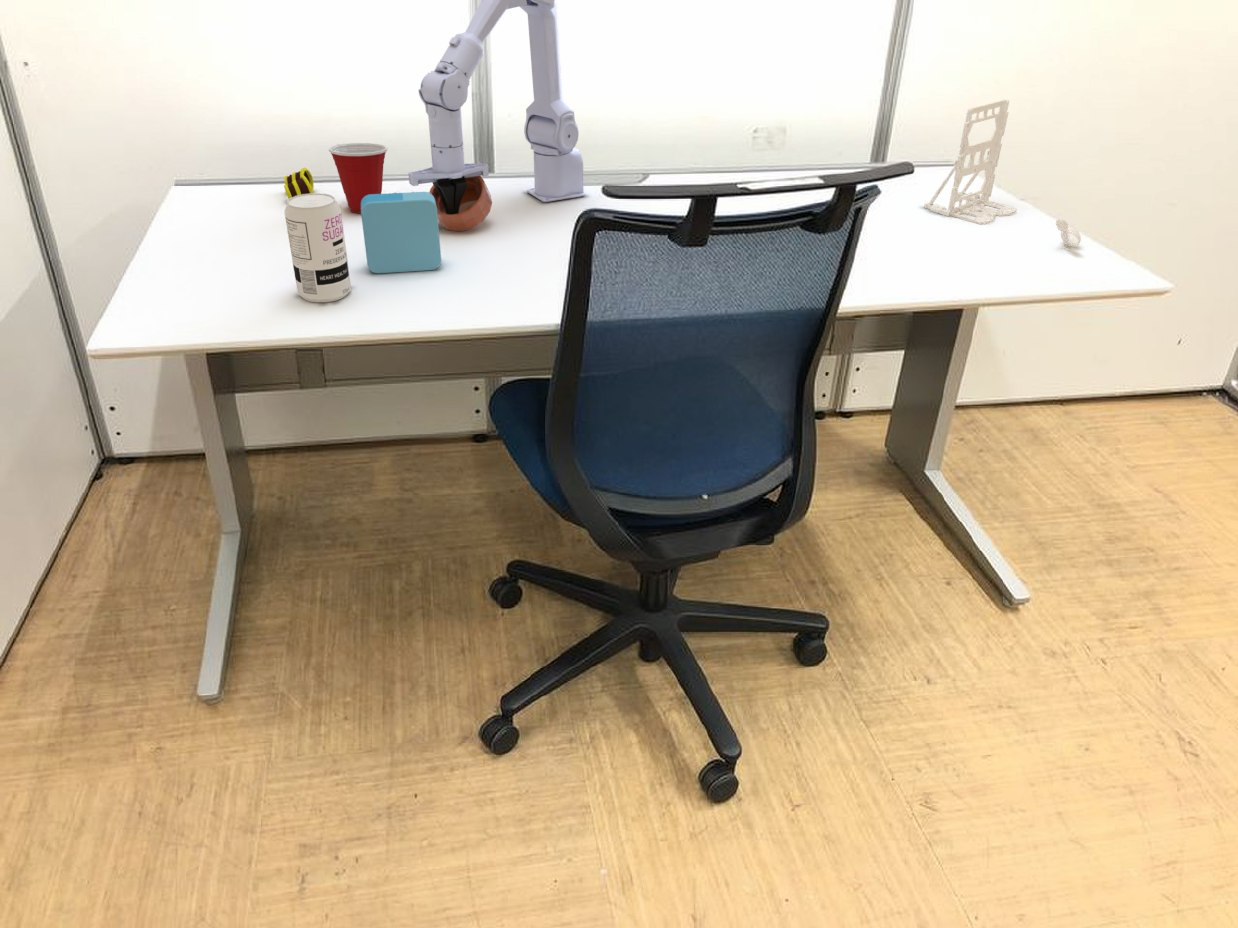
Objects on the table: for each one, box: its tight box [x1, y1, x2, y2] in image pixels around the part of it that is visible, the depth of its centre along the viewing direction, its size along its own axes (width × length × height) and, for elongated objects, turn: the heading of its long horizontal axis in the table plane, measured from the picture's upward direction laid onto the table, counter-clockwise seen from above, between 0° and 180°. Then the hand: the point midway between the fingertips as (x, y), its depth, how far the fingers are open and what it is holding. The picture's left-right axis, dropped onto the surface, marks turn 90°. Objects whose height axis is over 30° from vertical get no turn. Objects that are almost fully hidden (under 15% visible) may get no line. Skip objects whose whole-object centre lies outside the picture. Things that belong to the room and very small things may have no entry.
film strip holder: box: [923, 99, 1018, 225], centre depth 194 cm, size 14×14×20 cm
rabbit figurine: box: [1055, 218, 1082, 251], centre depth 181 cm, size 6×4×8 cm
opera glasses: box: [283, 167, 315, 200], centre depth 200 cm, size 10×5×5 cm, turn 15°
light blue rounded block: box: [360, 191, 442, 274], centre depth 166 cm, size 12×4×12 cm, turn 102°
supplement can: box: [284, 192, 352, 303], centre depth 155 cm, size 8×8×15 cm
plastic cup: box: [328, 142, 389, 214], centre depth 192 cm, size 11×11×12 cm
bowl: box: [428, 175, 493, 232], centre depth 186 cm, size 11×11×5 cm
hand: (452, 219), depth 186 cm, fingers closed, pressing on bowl
